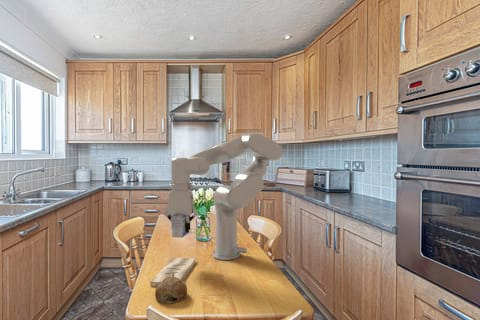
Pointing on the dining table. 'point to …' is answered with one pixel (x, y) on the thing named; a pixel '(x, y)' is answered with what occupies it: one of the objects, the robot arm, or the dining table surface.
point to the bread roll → (171, 290)
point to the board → (174, 270)
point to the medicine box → (179, 226)
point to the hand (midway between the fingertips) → (181, 231)
